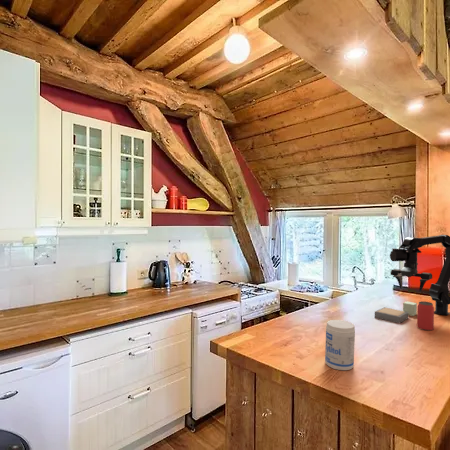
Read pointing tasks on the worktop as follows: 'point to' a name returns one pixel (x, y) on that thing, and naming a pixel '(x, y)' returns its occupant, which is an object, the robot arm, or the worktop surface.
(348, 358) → the supplement tub
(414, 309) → the cream block
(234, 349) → the worktop surface
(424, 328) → the beer can
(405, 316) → the slate base
